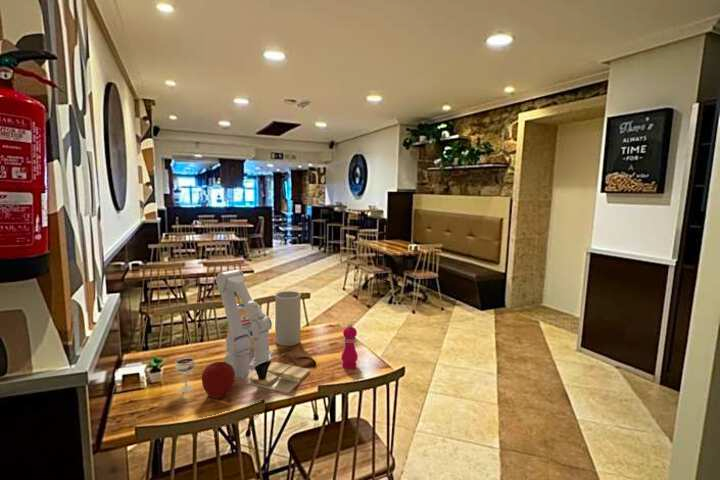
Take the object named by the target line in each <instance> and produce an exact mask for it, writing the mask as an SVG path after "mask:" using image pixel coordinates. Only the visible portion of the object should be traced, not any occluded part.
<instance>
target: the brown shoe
mask: <svg viewBox="0 0 720 480" xmlns="http://www.w3.org/2000/svg"><path fill="white" fill-rule="evenodd" d="M285 356H286V358H288V359H289V360H290V361H291V362H292V363H293V364H294V366H297V367H302V368H307V369H308V368H310V367H315V366H317V361H315V359H314V358H313V357H312V356H311V355H310V354H308V353H307V352H306V351H305V350H304V349H303V348H301V347H300V346H299V345H298V346H297V347H295V348H294V349H293V350H291V351H289V352H288V353H287V354H286V355H285Z"/></svg>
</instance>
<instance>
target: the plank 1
mask: <svg viewBox="0 0 720 480" xmlns="http://www.w3.org/2000/svg"><path fill="white" fill-rule="evenodd" d="M278 378H279V377H278V376H275V375H272V373H271V372H267V375H266V378H265V379H264V380H261V379H259V378H258V375H257V373H255V374H254V375H252V376H251V377H249V380H250V381H252V382H256V383H261V384H265V385H270V384H271V383H272V382H274V381H275V380H276V379H278Z"/></svg>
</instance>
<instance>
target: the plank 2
mask: <svg viewBox="0 0 720 480" xmlns="http://www.w3.org/2000/svg"><path fill="white" fill-rule="evenodd" d="M272 375H275V376H278V377H281V378H285V379H290V380H294V381H299V383H300V382H301V381H300V378H298V377H295V376H293V375H288V374H283V373H279V372H274V371H273V372H272Z"/></svg>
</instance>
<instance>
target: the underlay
mask: <svg viewBox="0 0 720 480" xmlns="http://www.w3.org/2000/svg"><path fill="white" fill-rule="evenodd" d="M311 372H312V371H311V370H310V372H309V373H308V374H310V373H311ZM308 374H307V375H308ZM299 383H300V382H299V381H294V380H290V379H285V378H281V377H279V378H278V379H276V380H275V381H274V382H272V383H271V384H270V385H265V384H261V383H256V382H252V381H250V379H249V380H248V381H247V382H246V384H248V385H251V386H252V385H253V386H256V387H257V386H258V387H261V388H264V389H269V390H273V391H278V392H282V393H287V394H288V393H290V392H292V390H293V389H294V388H295V387H296V386H297V385H298V384H299Z"/></svg>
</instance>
